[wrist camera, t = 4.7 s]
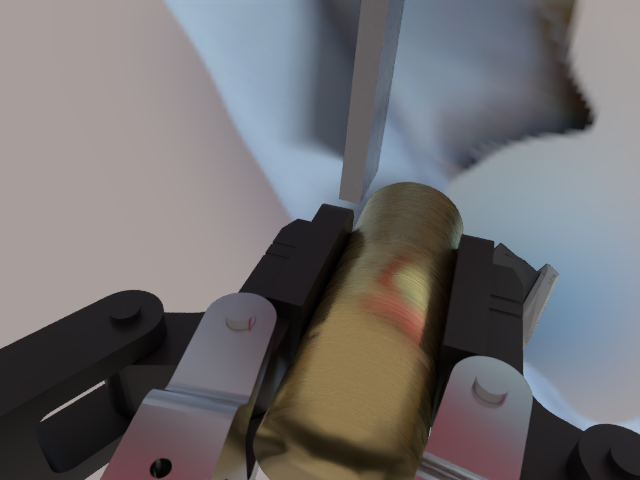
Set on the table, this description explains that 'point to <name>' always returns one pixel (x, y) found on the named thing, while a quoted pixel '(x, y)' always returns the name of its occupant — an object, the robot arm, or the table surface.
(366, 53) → the bracket
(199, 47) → the table surface
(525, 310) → the electrical switch
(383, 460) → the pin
